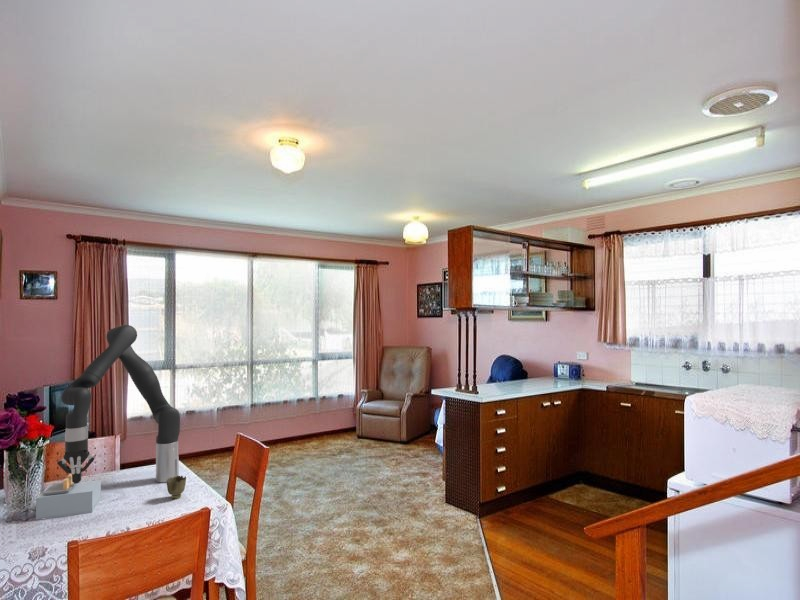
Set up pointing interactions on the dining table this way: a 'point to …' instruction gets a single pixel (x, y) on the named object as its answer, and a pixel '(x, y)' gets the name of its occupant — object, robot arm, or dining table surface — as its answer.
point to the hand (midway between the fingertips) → (76, 482)
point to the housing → (69, 501)
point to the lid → (61, 486)
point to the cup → (176, 486)
